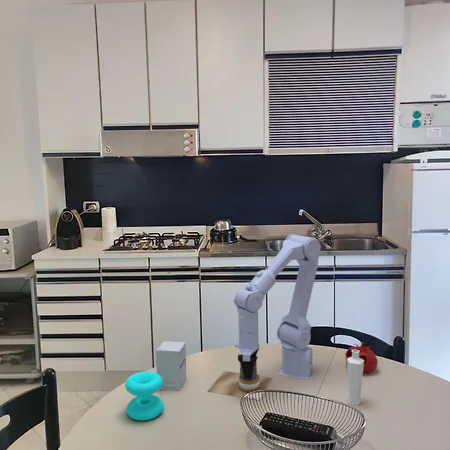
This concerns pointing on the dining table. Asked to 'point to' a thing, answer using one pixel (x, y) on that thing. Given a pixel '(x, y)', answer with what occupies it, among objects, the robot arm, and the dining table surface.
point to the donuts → (144, 395)
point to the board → (234, 384)
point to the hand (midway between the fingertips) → (249, 373)
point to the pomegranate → (364, 357)
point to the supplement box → (171, 364)
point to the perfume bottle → (355, 377)
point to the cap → (252, 375)
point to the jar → (249, 385)
